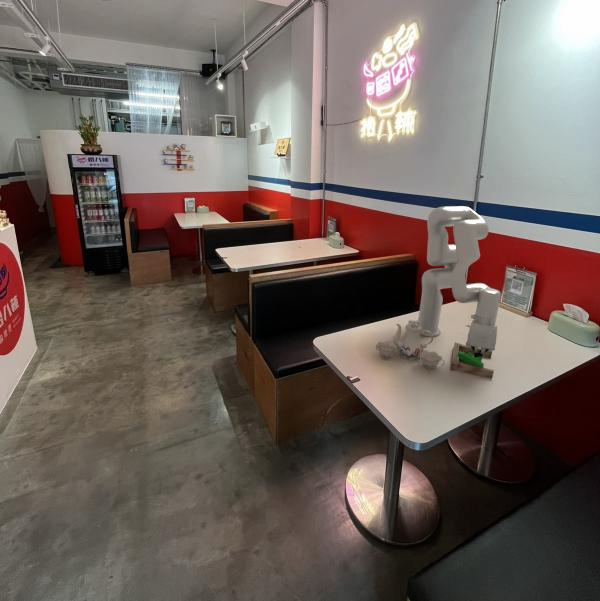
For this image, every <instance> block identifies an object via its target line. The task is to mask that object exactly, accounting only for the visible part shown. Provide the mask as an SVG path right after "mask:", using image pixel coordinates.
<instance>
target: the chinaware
mask: <svg viewBox="0 0 600 601" xmlns="http://www.w3.org/2000/svg"><path fill="white" fill-rule="evenodd" d="M415 321H416V320H413V322H412V323H410V324H409V323H407V324H405V328H406V330H405V335H404V337H403V339H402V340H400V337H401V333H402V331H403V330H402V326H401V324H399V323H396V326H397V330H396V332H395V335H394V337H393V342H392V341H391V342H390V341H384V342H382V341H378V343H377V344H375V349H376V350H377V351H378V352H379V355H380V356H381V357H382V358H383V359H387V360H388V359H390V358H391V357H392V356H394V355H395V354H396V352H397V351H398V352H399V356H400V357H402V359H403V358H404V359H406V360H410V361H416V360H418V359H420V362H421V364H422V365H424V368H425V369H428V370H430V369H431V370H433V368H437V366H438V367H443V366H445V363H443V364H440V365H439V362H441V361H442V362H445V360H444V359H443V357H442V356H441V355H439V353H438V352H436V351H429V350H425V349H427V347H428V345H430V344H431V343H432V342H433V340H434V337H433V335H432V333H431V332H429V331H427V330H421V329H422V327H421V326H420V325H418V324H417V323H416V322H415ZM420 330H421V331H422V332H421V331H420ZM423 331H425V332H428V333H430V334H431V336H432V337H431V339H430V341H429V342H426V343H425V342H424V343H421V340H420V336H421V335H420V333H422V334H424V332H423Z"/></svg>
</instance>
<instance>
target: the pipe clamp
mask: <svg viewBox="0 0 600 601" xmlns="http://www.w3.org/2000/svg"><path fill="white" fill-rule="evenodd" d="M482 361H483V356H482V357H474V355H473V354H472V352H469V353H463V352H461V351H460V352H458V362H459V363H463V364H468V365H473V366H477V367H481V368H485V367H484V366H485V365H484V362H482Z"/></svg>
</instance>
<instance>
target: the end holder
mask: <svg viewBox="0 0 600 601" xmlns="http://www.w3.org/2000/svg"><path fill="white" fill-rule="evenodd" d="M480 350H481V348H479V347H478V351H480ZM459 351H461V352H465V354H467V353H469V352H472V355H473V354H474V353H475V351H474V350H473V349H472V348H471V347H468V346H466V344H461V343H459V342H454V345H453V351H452V356H451V365H450V371H454V372H456V371H457V372H461V373H465V374H469V375H474V376H479V377H483V378H488V379H493V377H494V371H495V370H494V369H491V368H486V367H483V368H481V367H477V366H473V365H468V364H463V363H461V362H459V361H458V352H459ZM492 354H493V351H487V352H485V353H484V354H483V356H482V358H489V359H491V358H492Z"/></svg>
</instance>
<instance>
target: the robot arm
mask: <svg viewBox="0 0 600 601" xmlns="http://www.w3.org/2000/svg"><path fill="white" fill-rule="evenodd" d="M426 223H427V224H426V225H427V233H428V234H427V238H428V239H427V250H426V251H427V252H426V261H427V264H428V265H430V266H432V267H441V268H431V269H428V270H426V271H424V273H423V274H422V276H421V290H422V291H421V298H420V305H419V312H418V319H417V320H413V319H408V322H407V324H410V323H412V322H413V321H415V322H416V323H417V324H418V325H420V326H421V327H422V329H421V330H427V331H429V332H431V333H432V335H433V338H434V337H438V336H440V335H441V332H442V331H441V329H440V328H439V324H440V320H441V319H440V318H441V313H442V311H441V310H442V306H443V301H444V300H443V298H444V297H443V295H442V292H441V290H442V289H450V288H451V292H452V296H453V298H454V299H455V301H457V303H459V304H469V303H476V310H475V312H474V313H475V314H470V319H472V321H471V323H470V326H469V329H468V334H467V339H466V340H467V341H466V342H465V345H466V346H468V347H471V348H472V349H473V350H474V351H475V353H474V355H473V357H482V358H483V354H484V353H485V352H487V351H492V352H493V351H495V350H496V349H495V348H496V344H497V337H498V324H497V323H496V322H497V316H498V312H499V307H500V302H501V297H502V294H501V291H500V290H498V289H495V288H492V287H490V286H488V285H487V284H485V283H482V282H475V283H466V272H467V270H468V269H469V267H470V266H471V265H472V264H473V263H475V262H477V261H478V260H479V259H480V257H481V253H480V247H479V241H478V240H483V239H486V238H487V236H488V234H489V226H488V223H487V221H486V220H485V219H484V218H483V217H482V216H481V215H480V214H478V213H477V212H476V211H475V210H473V209H472V208H470V207H469V206H465V205H464V206H463V205H460V206H456V205H455V206H451V205H450V206H449V205H447V206H439V207H436V208H434V209H432V210H431V212H429V214H428V217H427V222H426ZM446 227H453V228H452V233H453V240H454V243H453V244H449V233H448V231H447V229H446ZM442 266H444V267H443V268H442ZM421 330H420V331H421ZM421 332H422V331H421ZM423 332H424V334H422V333H420V335H419V336H424V337H429V338H432V336H431V334H430V333H428V332H425V331H423ZM478 348H481V350H480V351H478Z"/></svg>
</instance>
